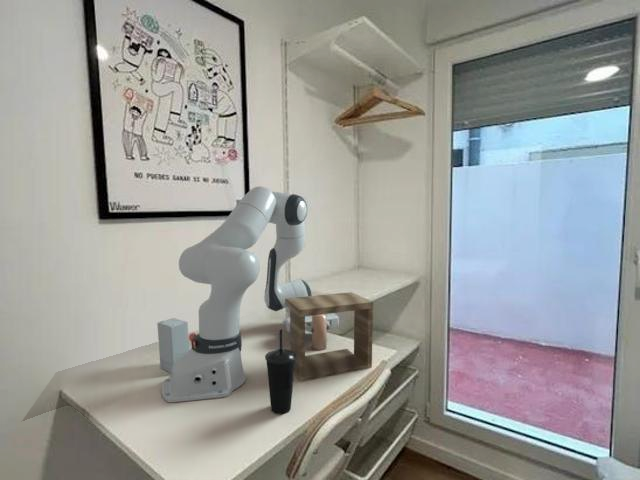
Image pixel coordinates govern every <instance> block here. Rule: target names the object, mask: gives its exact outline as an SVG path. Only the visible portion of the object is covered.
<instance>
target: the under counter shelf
mask: <svg viewBox="0 0 640 480" xmlns="http://www.w3.org/2000/svg"><path fill="white" fill-rule="evenodd" d="M285 305H286V306H287V307H289V308H290V332H289V350H291V351H293V352H295V353H296V355H297V357H296V359H295V367H294V377H296V378H297V380H298V381H299V382H305V381H310V380H316V379H321V378H326V377H331V376H335V375H340V374H346V373H351V372H354V371H355V372H356V371H361V370H366V369H371V368H373V366H372V365H373V333H374V332H373V330H374V329H373V323H374V322H373V320H374V319H373V318H374V301H372V300H370V299H368V298H366V297H363V296H361V295H359V294H357V293H354V292H352V291H349V292H348V291H347V292H339V293H330V294H329V293H327V294H320V295H312V296H306V297H296V298H286V299H285ZM345 312H353V313H354V314H353V315H354V317H353V320H354V322H353V323H354V324H353V327H354V328H353V352H352V351H350V349H348V348H343V349H337V350H332V351H326V352H321V353H320V352H318V353H315V354H308V355H306V331H305V316H313V315H322V314H330V313H334V314H336V313H345Z"/></svg>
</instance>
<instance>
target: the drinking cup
mask: <svg viewBox="0 0 640 480" xmlns="http://www.w3.org/2000/svg"><path fill="white" fill-rule="evenodd" d="M278 331H279V333H278V335H279V336H278V337H279V348H277V349H274V350H271V351H269V352H267V353H266V354H265V356H264V358H265V361H266V369H267V370H266V371H267V379H268V390H269V399H270V400H269V401H270V411H271V412H272V413H273V414H276V415H284V414H287V413H289V412H290V411H291V407H292V398H293V388H294V387H293V386H294V377H295V374H294V367H295V359H296V357H297V355H296V353H295V352H293V351H291V350H290V349H287V348H283V330H282V329H279V330H278Z"/></svg>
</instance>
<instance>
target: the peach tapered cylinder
mask: <svg viewBox="0 0 640 480" xmlns="http://www.w3.org/2000/svg"><path fill="white" fill-rule="evenodd" d="M326 321H327V314H322V315H313V316H312V327H313V328H314V329H313V331H314V332H311V349H313V350H316V351H323V350H325V349H327V330H326Z"/></svg>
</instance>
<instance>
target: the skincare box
mask: <svg viewBox="0 0 640 480" xmlns="http://www.w3.org/2000/svg"><path fill="white" fill-rule="evenodd" d="M156 325H157V338H158V349H159V350H158V351H159V364H160V366H159V367H160V369H163V370H165V371H166V372H169V373H170V374H171V371H172V368H173V365H174V363H175V362H176V361H177V360H178V359H179V358H181V357H182V356H183V355H184V354H185V353H187V352H188V351H189V350H190V340H189V325H188V321H186V320H182V319H179V318H175V317H171V318H168V319H165V320H161V321H158V322H157V323H156Z"/></svg>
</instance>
